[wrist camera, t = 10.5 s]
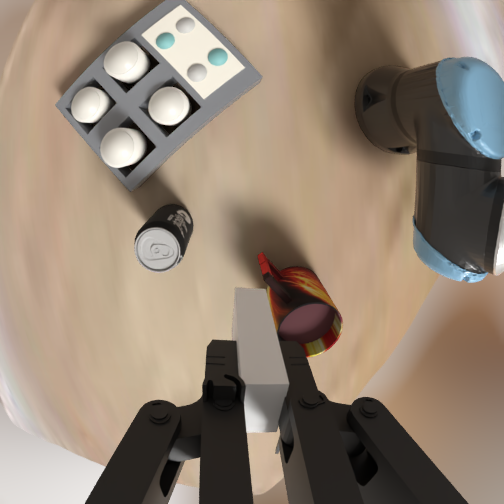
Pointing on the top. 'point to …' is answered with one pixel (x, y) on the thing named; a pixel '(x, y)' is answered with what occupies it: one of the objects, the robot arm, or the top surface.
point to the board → (166, 83)
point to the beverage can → (164, 238)
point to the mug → (301, 307)
